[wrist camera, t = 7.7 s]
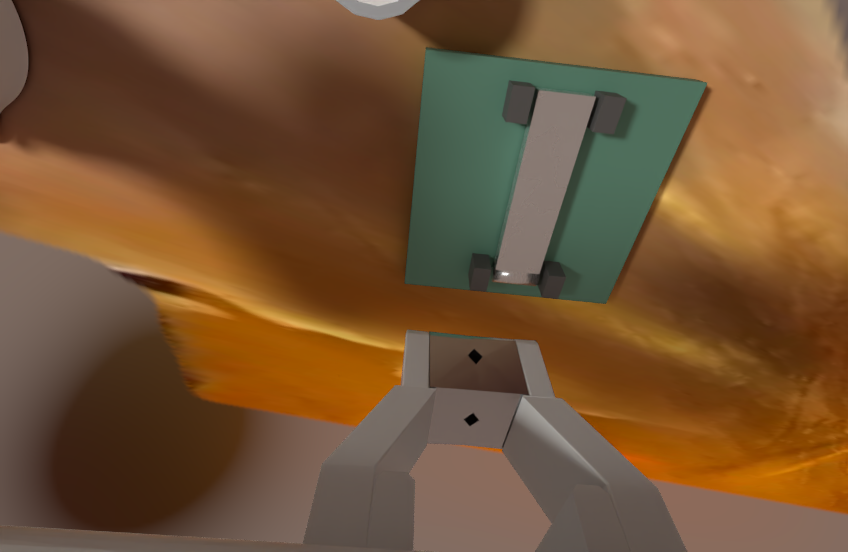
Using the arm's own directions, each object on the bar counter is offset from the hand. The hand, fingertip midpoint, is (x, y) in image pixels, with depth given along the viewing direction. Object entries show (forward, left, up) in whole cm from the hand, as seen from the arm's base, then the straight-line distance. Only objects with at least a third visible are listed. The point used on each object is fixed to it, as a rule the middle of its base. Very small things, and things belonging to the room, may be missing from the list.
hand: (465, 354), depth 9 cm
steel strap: (+8, -6, -25) cm, 27 cm away
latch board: (+8, -6, -26) cm, 28 cm away
